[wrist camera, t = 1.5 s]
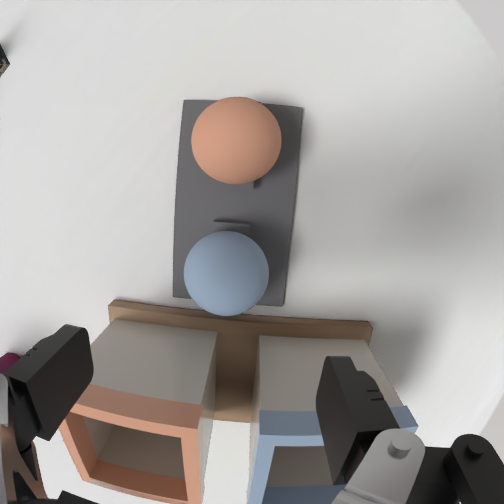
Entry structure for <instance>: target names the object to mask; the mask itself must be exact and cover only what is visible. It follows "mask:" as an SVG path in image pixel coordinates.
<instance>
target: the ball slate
mask: <svg viewBox="0 0 504 504" xmlns="http://www.w3.org/2000/svg"><path fill="white" fill-rule="evenodd" d="M268 279H269V268H268V263H267V260H266V257H265V255H264V253H263V251H262V250H261V248H260V247H259V246H258V245H257V244H256V243H255V242H254V241H253V240H252V239H251V238H249V237H247V236H246V235H243V234H241V233H238V232H233V231H219V232H215V233H212V234H209V235H207V236H205V237H204V238H202V239H201V240H199V241H198V242H197V243H196V244H195V245H194V246H193V248H192V249H191V250H190V252H189V254H188V256H187V259H186V261H185V266H184V281H185V285H186V288H187V291H188V293H189V295H190V296H191V298H192V299H193V300H194V302H195V303H196V304H197V305H198V306H200V307H201V308H202V309H204V310H206V311H207V312H210V313H212V314H215V315H220V316H233V315H238V314H241V313H243V312H245V311H247V310H249V309H250V308H252V307H253V306H254V305H256V304H257V303H258V301H259V300H260V299H261V297H262V296H263V294H264V292H265V290H266V288H267V285H268Z"/></svg>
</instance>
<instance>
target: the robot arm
mask: <svg viewBox="0 0 504 504" xmlns="http://www.w3.org/2000/svg"><path fill="white" fill-rule="evenodd" d="M93 373H94V365H93V360H92V354H91V348H90V342H89V336H88V332H87V330H86V329H85V328H82V327H77V326H72V325H68V324H66V325H64V326H63V327H61V328H60V329H59V330H58V331H57V332H56V333H55V334H53V335H51V336H49V337H46V338H44V339H42V340H40V341H39V342H38V343H37V344H36V345H35V346H33V347H32V349H30V350H29V351H28V352H27V353H26V355H23V356H22V357H21V358H20V359H19V360H18V361H16V362H15V363H14V364H13V365H12V366H11V367H10V368H9V369H8V370H7V371H5V372H4V373H3V374H1V373H0V504H98V503H95V502H92V501H90V500H87V499H84V498H81V497H79V496H76V495H73V494H71V493H68V492H66V491H63V490H62V492H61V494H60V496H59V498H58V499H48V497H47V495H46V492H45V490H44V486H43V482H42V478H41V473H40V469H39V464H38V459H37V453H36V447H35V444H34V442H33V439H34V438H35V437H36V436H37V437H40V438H42V439H45V440H47V441H50V439H51V438H52V436H53V435H54V433H55V432H56V430H57V429H58V428H59V426H60V425H61V423H62V422H63V420H64V419H65V417H66V416H67V415H68V413H69V412H70V410H71V409H72V408H73V406H74V405H75V403H76V402H77V401H78V399H79V398H80V396H81V395H82V394H83V392H84V391H85V389H86V388H87V387H88V385H89V384H90V382H91V381H92V378H93ZM316 412H317V417H318V421H319V425H320V429H321V434H322V438H323V442H324V447H325V451H326V456H327V460H328V465H329V469H330V474H331V478H332V483H333V486H334V485H345V484H346V486H345V488H343V489H342V490H341V491H340V492H339V494H338V495H337V496H336V498H335V499H334V501H333V502H332V503H331V504H459V502H461V504H504V464H503V462H502V461H501V459H500V458H499V456H498V454H497V453H496V451H495V449H494V448H493V446H492V445H491V444H490V443H489V442H488V441H487V440H486V439H485V438H483V437H481V436H478V435H474V434H465V435H461V436H459V437H458V438H457V439H456V440H455V441H454V443H453V444H452V446H451V447H450V448H440V447H427V446H424V443H423V442H422V440H421V439H420V438H419V437H418V436H417V435H415V434H414V433H412V432H410V431H407V430H404V429H400V427H399V425H398V423H397V421H396V419H395V417H394V415H393V413H392V411H391V410H390V408H389V406H388V404H387V402H386V400H384V396H383V394H382V392H380V389H379V387H378V385H377V383H376V381H375V379H373V378H372V377H371V376H370V375H369V374H367V373H366V372H365V371H357V369H356V367H355V365H354V363H353V361H352V359H351V357H350V356H327V357H326V358H325V361H324V364H323V369H322V373H321V377H320V381H319V386H318V390H317V394H316Z"/></svg>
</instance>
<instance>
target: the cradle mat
mask: <svg viewBox="0 0 504 504" xmlns="http://www.w3.org/2000/svg"><path fill="white" fill-rule="evenodd" d="M215 102H216V101H213V100H184V102H183V111H182V121H181V131H180V142H179V154H178V167H177V181H176V198H175V218H174V247H173V297H179V298H188V299H192V298H191V296H190V295H189V293H188V291H187V288H186V285H185V281H184V266H185V261H186V259H187V256H188V254H189V252H190V250H191V249H192V248H193V246H194V245H195V244H196V243H197V242H198V241H199V240H201V239H202V238H204V237H205V236H207V235H209V234H212V233H215V232H219V231H233V232H238V233H241V234H243V235H246V236H247V237H249V238H251V239H252V240H253V241H254V242H255V243H256V244H257V245H258V246H259V247H260V248H261V250H262V251H263V253H264V255H265V257H266V260H267V263H268V268H269V279H268V285H267V288H266V290H265V292H264V294H263V296H262V297H261V299H260V300H259V301H258V303H257V304H256V305H267V306H281V307H282V306H283V298H284V290H285V282H286V274H287V265H288V256H289V247H290V238H291V229H292V220H293V210H294V200H295V190H296V179H297V168H298V157H299V145H300V132H301V119H302V108H301V107H293V106H284V105H274V104H264V103H261V102H259V103H260V104H262V105H263V106H265V107H266V108H267V109H268V110H269V111H270V112H271V113H272V114H273V116H274V117H275V119H276V120H277V122H278V125H279V127H280V131H281V149H280V153H279V156H278V158H277V160H276V162H275V164H274V165H273V166H272V168H271V169H270V170H269V171H268V172H267V173H266V174H265V175H263V176H262V177H260V178H259V179H257V180H255V181H252V182H249V183H245V184H227V183H223V182H220V181H218V180H215V179H214V178H212V177H210V176H209V175H208V174H206V173H205V172H204V171H203V170H202V169H201V168H200V166H199V165H198V163H197V161H196V160H195V157H194V155H193V151H192V145H191V136H192V131H193V127H194V125H195V122H196V120H197V119H198V117H199V116H200V114H201V113H202V112H203V111H204V110H205V109H206V108H207V107H208V106H210V105H211V104H213V103H215Z"/></svg>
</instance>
